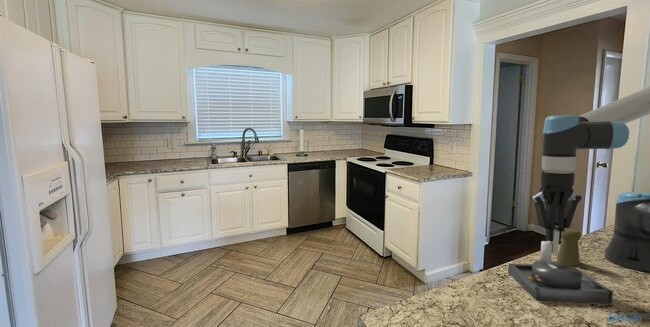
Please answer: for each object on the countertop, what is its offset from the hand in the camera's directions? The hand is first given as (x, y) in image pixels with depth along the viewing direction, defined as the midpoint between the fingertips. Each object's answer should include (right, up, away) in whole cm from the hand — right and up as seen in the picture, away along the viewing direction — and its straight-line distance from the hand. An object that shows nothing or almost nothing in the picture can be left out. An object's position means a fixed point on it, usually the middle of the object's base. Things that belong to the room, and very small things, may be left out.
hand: (552, 251), depth 90 cm
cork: (+14, -7, +12) cm, 20 cm away
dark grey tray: (-1, -9, -3) cm, 10 cm away
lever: (-2, -7, -3) cm, 8 cm away
